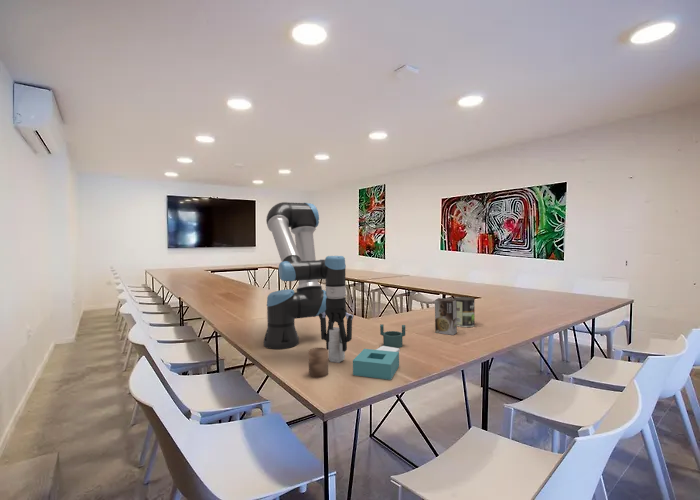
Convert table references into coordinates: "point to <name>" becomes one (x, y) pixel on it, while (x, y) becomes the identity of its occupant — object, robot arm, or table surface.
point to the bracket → (392, 337)
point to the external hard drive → (388, 349)
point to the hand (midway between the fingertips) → (336, 358)
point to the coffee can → (465, 311)
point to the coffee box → (445, 316)
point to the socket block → (376, 364)
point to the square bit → (334, 344)
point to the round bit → (318, 362)
